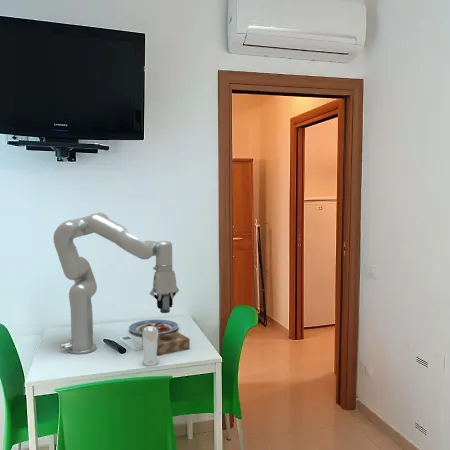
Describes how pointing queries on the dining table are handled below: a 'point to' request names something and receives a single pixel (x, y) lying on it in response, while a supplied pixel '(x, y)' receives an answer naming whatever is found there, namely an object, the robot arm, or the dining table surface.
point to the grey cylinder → (165, 303)
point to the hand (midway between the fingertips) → (164, 307)
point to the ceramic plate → (162, 326)
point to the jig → (172, 343)
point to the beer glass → (150, 345)
